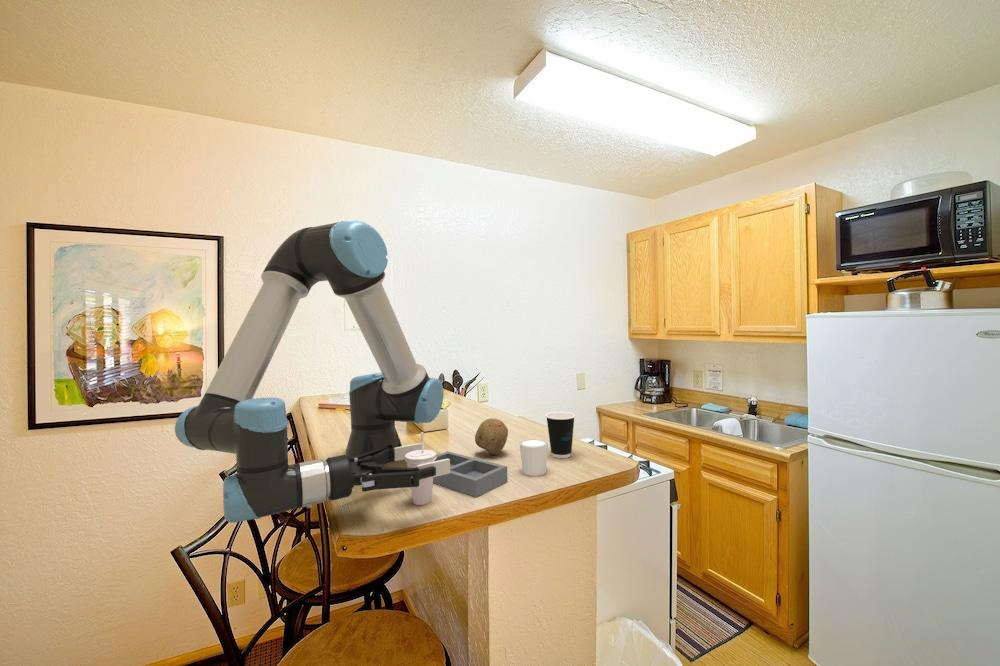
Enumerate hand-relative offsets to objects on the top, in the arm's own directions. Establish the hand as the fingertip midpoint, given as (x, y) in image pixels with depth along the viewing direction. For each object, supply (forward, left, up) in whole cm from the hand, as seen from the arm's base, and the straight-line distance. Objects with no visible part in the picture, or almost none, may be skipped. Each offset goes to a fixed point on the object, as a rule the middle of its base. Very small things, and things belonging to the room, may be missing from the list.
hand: (435, 456), depth 86 cm
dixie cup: (+7, +38, -9) cm, 40 cm away
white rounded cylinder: (+8, +24, -9) cm, 27 cm away
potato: (-9, +28, -9) cm, 31 cm away
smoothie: (-1, -3, -9) cm, 9 cm away
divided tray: (-3, +10, -9) cm, 13 cm away
